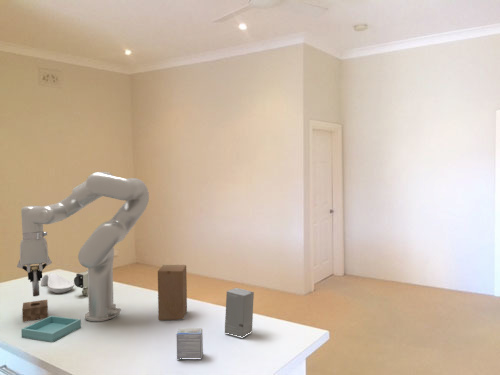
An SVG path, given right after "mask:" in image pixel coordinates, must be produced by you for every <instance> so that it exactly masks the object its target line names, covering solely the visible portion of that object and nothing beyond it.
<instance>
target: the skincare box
mask: <svg viewBox="0 0 500 375" xmlns="http://www.w3.org/2000/svg"><path fill="white" fill-rule="evenodd" d="M254 293H255V292H254V291H251V290H247V289H243V288H240V287H239V288H238V287H235V288H232V289H229V290H227V291H226V298H225V319H224V320H225V321H224V334H225V333H229V334H233V335H237V336H241V337H243V336H245V335H246V334H248V333H250V332H251V331H252V332H253V322H254V321H253V319H254V316H253V314H254V298H255V294H254Z"/></svg>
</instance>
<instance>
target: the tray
mask: <svg viewBox="0 0 500 375" xmlns="http://www.w3.org/2000/svg"><path fill="white" fill-rule="evenodd" d="M81 322H82V319H80V318H71V317H65V316H56V315H48V317H47V318H45V319H39V321H36V322H34V323H32V324H29V325H28V326H25V327H23V328H21V331H20V332H21V334H20V335H21V338H23V339H31V340H37V341H43V342H50V343H54V342H56V341H58V340H60V339H62V338H64V337H65V336H67V335H69V334H71V333H73V332H74V331H77V330H78V329H81V327H82V323H81Z"/></svg>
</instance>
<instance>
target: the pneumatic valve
mask: <svg viewBox="0 0 500 375" xmlns="http://www.w3.org/2000/svg"><path fill="white" fill-rule="evenodd" d="M73 282H74V286H76V287H77V288H81V289H82V291H81V295H82V296H86V297H88V269H86V271H83V272H78V273H76V276H75V277H74V279H73Z"/></svg>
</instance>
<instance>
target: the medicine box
mask: <svg viewBox="0 0 500 375" xmlns="http://www.w3.org/2000/svg"><path fill="white" fill-rule="evenodd" d="M175 335H176V360H177V359H180V358H181V359H182V358H202V359H203V355H202V354H204V348H203V346H204V345H203V344H204V343H203V342H204V341H203V328H202V327H199V328H197V327H196V328H195V327H193V328H191V327H190V328H189V327H188V328H178V330H177V333H176V334H175Z"/></svg>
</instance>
